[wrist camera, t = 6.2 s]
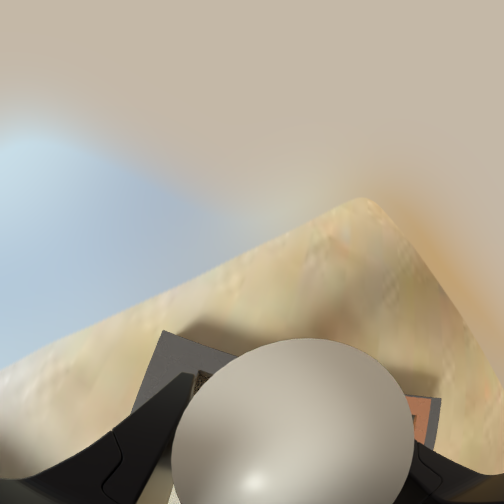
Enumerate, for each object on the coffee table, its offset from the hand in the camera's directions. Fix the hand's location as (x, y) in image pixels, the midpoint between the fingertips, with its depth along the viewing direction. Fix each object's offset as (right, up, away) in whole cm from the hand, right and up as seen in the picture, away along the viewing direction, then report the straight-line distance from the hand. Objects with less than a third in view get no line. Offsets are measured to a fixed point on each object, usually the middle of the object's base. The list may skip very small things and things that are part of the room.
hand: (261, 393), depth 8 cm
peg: (-1, -5, +5) cm, 7 cm away
